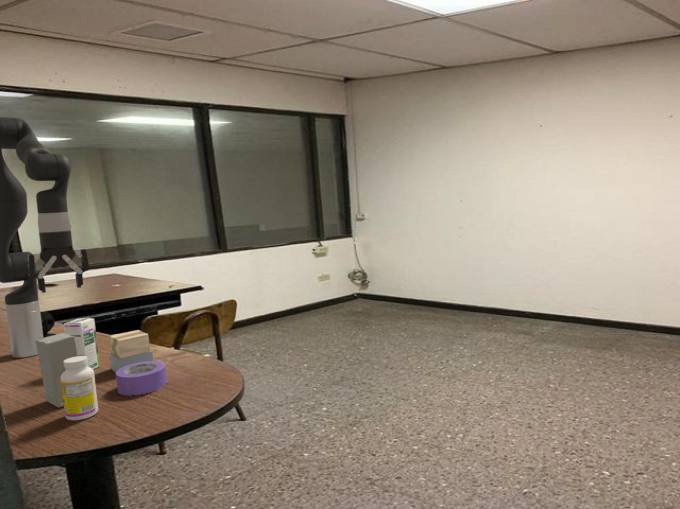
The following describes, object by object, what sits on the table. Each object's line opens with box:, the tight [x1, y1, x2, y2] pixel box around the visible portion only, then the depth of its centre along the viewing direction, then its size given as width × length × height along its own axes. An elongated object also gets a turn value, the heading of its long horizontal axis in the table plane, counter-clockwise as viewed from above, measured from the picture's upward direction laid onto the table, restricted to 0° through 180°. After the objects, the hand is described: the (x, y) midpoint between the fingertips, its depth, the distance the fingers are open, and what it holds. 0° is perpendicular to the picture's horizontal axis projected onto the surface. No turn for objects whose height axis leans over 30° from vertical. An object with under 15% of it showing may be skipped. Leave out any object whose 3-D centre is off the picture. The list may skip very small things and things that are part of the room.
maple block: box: [109, 329, 151, 358], centre depth 145 cm, size 8×8×5 cm
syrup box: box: [63, 317, 101, 370], centre depth 147 cm, size 6×6×14 cm
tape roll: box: [115, 360, 168, 397], centre depth 130 cm, size 12×12×5 cm
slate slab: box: [108, 350, 154, 373], centre depth 146 cm, size 9×9×5 cm
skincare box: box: [35, 332, 78, 408], centre depth 123 cm, size 8×7×16 cm
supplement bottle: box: [60, 356, 99, 421], centre depth 113 cm, size 7×7×13 cm
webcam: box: [40, 311, 58, 338], centre depth 186 cm, size 8×8×10 cm
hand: (61, 289), depth 139 cm, fingers open, 8 cm apart
